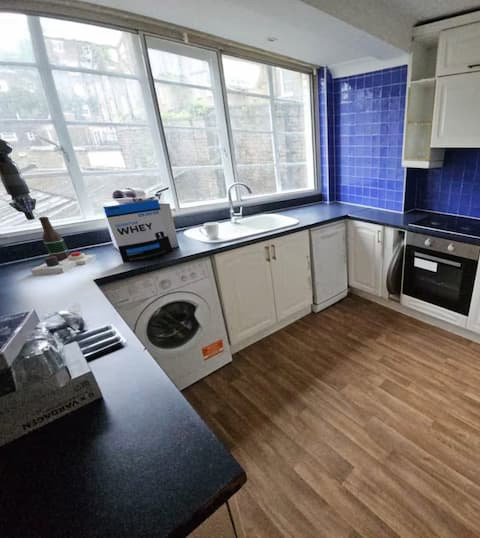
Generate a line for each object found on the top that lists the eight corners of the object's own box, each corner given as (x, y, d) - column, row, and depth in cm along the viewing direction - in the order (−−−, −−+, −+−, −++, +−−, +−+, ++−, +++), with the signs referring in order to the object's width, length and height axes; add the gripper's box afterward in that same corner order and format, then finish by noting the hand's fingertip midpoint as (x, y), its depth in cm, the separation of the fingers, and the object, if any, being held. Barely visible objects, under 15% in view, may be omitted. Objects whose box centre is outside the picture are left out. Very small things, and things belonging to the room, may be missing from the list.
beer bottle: (71, 255, 170) (53, 215, 161) (70, 259, 165) (52, 217, 155) (53, 259, 166) (33, 217, 156) (51, 262, 160) (31, 219, 151)
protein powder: (120, 261, 160) (100, 206, 148) (169, 249, 177) (154, 199, 166) (126, 264, 154) (105, 208, 143) (175, 252, 172) (161, 200, 160)
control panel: (33, 275, 144) (30, 269, 143) (48, 268, 153) (45, 262, 152) (63, 272, 146) (61, 267, 145) (77, 265, 155) (74, 260, 154)
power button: (70, 257, 157) (69, 254, 156) (74, 255, 160) (73, 252, 159) (78, 256, 158) (76, 253, 157) (82, 254, 161) (81, 251, 160)
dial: (45, 267, 146) (41, 259, 144) (51, 263, 150) (47, 256, 148) (55, 266, 147) (51, 258, 145) (61, 263, 151) (58, 255, 149)
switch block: (59, 266, 155) (56, 259, 153) (72, 260, 164) (69, 253, 162) (86, 264, 157) (83, 257, 155) (97, 257, 166) (94, 251, 164)
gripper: (17, 182, 146) (33, 217, 153) (-8, 185, 134) (10, 223, 141) (35, 182, 147) (49, 216, 154) (12, 185, 136) (29, 222, 142)
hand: (31, 219), depth 147 cm, fingers closed
